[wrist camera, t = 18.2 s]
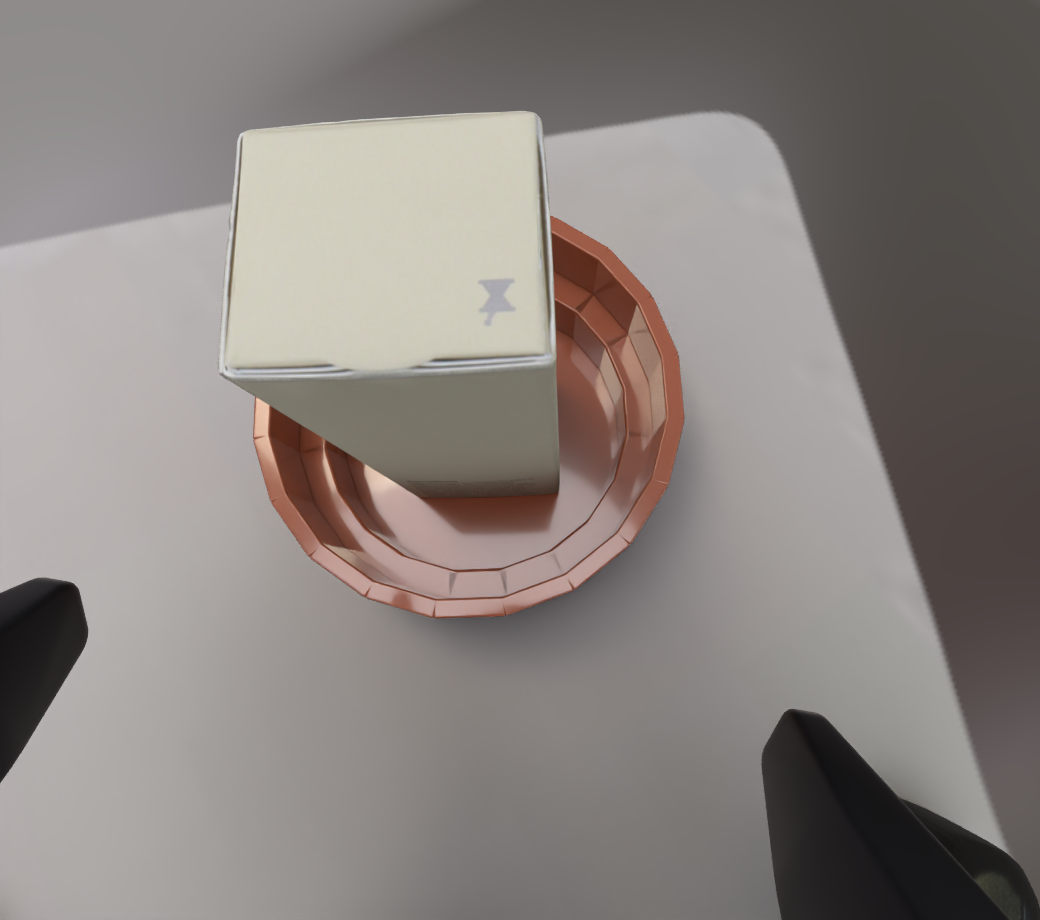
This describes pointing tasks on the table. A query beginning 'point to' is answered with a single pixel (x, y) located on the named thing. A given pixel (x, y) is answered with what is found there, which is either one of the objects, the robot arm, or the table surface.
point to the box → (401, 295)
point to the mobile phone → (984, 865)
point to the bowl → (508, 519)
